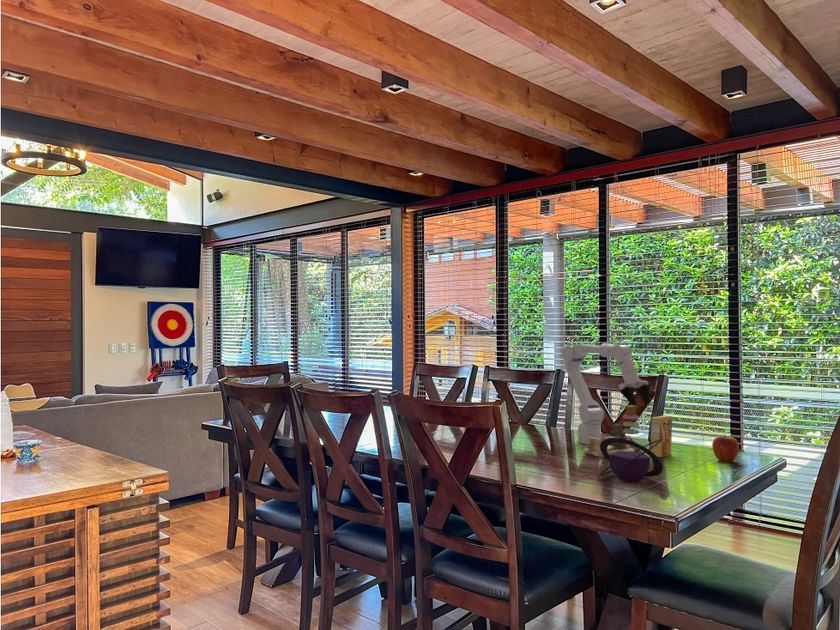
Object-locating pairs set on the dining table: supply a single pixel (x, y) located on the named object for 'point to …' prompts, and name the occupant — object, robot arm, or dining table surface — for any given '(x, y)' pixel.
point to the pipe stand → (595, 447)
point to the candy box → (661, 435)
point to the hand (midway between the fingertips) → (640, 404)
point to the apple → (725, 448)
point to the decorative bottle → (630, 455)
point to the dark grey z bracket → (617, 431)
